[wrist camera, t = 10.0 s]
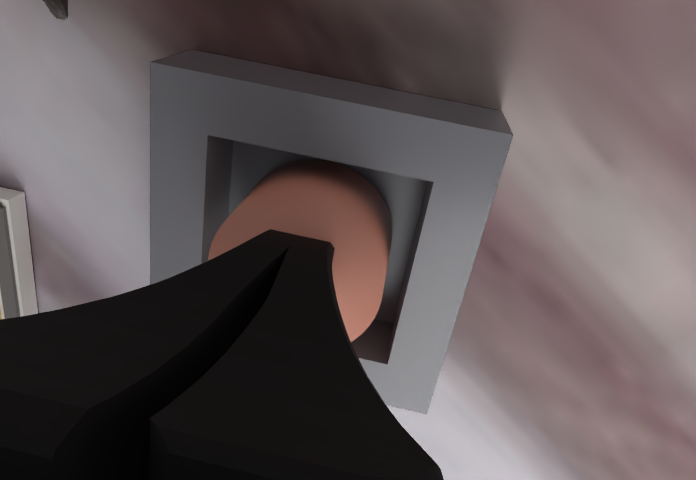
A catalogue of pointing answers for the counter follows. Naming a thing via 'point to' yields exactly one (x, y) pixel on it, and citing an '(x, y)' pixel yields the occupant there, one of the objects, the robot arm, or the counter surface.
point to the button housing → (344, 148)
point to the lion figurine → (58, 8)
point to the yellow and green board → (15, 258)
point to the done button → (323, 228)
